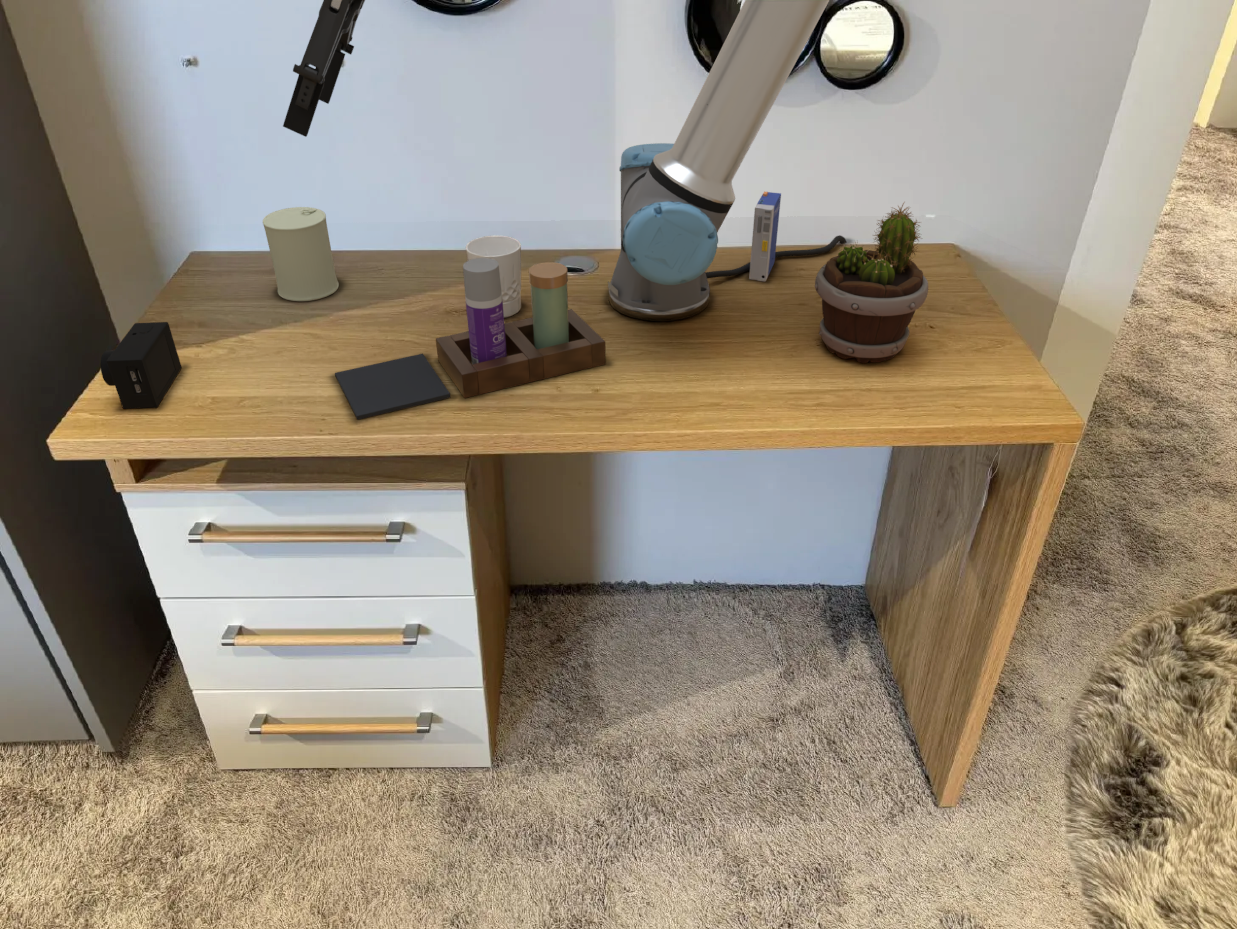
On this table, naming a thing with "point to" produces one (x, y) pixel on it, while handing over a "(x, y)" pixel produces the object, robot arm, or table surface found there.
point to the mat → (391, 386)
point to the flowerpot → (872, 293)
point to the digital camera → (142, 365)
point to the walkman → (764, 236)
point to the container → (484, 309)
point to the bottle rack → (520, 357)
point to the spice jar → (549, 304)
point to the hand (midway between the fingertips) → (307, 113)
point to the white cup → (502, 266)
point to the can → (301, 253)
